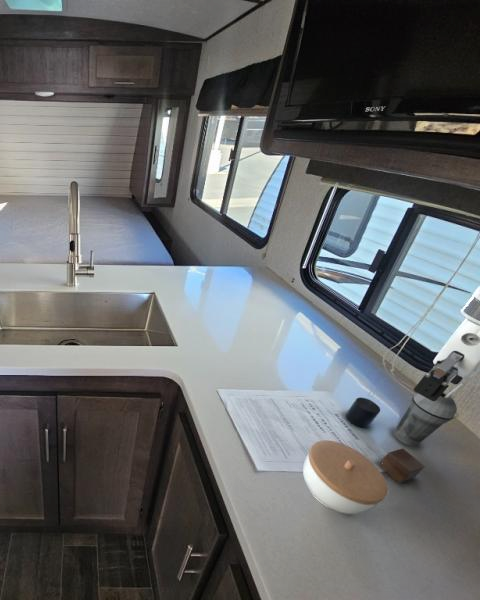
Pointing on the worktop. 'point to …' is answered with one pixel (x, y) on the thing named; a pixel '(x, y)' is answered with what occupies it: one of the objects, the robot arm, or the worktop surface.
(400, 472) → the walnut block
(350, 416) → the black cylinder
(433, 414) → the beverage cup
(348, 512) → the lidded bowl
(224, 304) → the worktop surface
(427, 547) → the worktop surface
